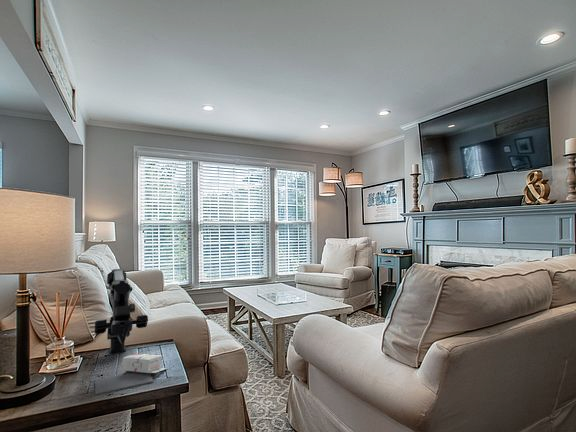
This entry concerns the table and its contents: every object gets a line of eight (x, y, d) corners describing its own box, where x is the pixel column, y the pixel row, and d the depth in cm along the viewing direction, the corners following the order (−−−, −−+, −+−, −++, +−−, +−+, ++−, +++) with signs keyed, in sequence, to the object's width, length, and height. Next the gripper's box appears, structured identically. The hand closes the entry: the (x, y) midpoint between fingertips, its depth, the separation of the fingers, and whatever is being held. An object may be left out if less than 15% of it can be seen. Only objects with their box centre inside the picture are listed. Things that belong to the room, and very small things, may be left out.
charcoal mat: (95, 381, 119) (95, 380, 119) (148, 370, 128) (148, 369, 128) (95, 395, 110) (95, 393, 110) (153, 382, 119) (153, 380, 119)
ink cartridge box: (137, 352, 135) (169, 355, 131) (135, 365, 134) (168, 369, 130) (122, 356, 126) (156, 360, 123) (120, 370, 125) (154, 374, 122)
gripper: (95, 299, 127) (95, 336, 117) (147, 294, 137) (151, 328, 127) (94, 315, 133) (94, 352, 124) (144, 310, 143) (148, 343, 133)
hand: (122, 343), depth 127 cm, fingers closed
